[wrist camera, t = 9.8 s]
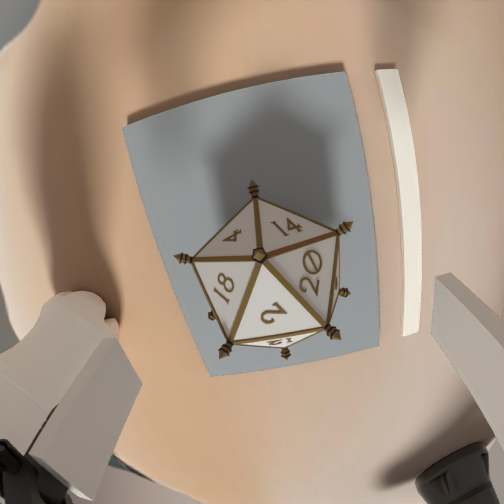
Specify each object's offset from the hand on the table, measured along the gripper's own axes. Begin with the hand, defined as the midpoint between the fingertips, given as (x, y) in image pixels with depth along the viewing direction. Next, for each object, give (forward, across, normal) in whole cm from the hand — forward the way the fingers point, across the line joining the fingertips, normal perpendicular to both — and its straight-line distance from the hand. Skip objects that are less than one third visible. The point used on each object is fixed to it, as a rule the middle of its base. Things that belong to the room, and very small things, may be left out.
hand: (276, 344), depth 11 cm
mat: (+10, 0, -1) cm, 10 cm away
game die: (+9, 0, -1) cm, 9 cm away
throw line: (+10, -10, -1) cm, 14 cm away
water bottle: (+10, +16, +2) cm, 19 cm away
